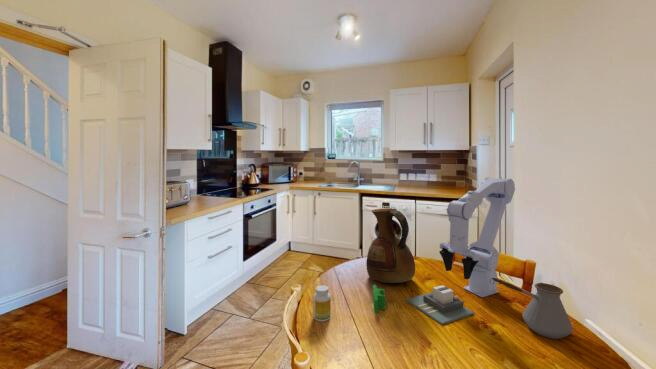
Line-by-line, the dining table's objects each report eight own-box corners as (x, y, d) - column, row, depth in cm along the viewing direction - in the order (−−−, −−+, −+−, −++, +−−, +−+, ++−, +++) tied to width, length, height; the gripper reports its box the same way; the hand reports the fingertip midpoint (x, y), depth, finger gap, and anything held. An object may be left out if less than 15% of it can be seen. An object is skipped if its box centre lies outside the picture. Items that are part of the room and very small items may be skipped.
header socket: (435, 292, 103) (435, 283, 103) (473, 314, 89) (474, 303, 89) (406, 300, 98) (406, 290, 97) (441, 324, 83) (442, 313, 83)
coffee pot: (554, 320, 85) (557, 273, 84) (583, 345, 74) (587, 291, 73) (480, 315, 88) (482, 269, 87) (497, 338, 77) (500, 286, 76)
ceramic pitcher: (382, 266, 130) (383, 203, 127) (423, 279, 116) (425, 208, 113) (356, 279, 115) (356, 208, 113) (399, 295, 102) (401, 214, 99)
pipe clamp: (386, 314, 90) (386, 300, 89) (374, 313, 90) (374, 300, 90) (383, 297, 101) (383, 284, 100) (372, 296, 101) (373, 284, 101)
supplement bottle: (311, 315, 89) (310, 286, 88) (326, 311, 91) (325, 282, 90) (317, 323, 84) (317, 293, 83) (333, 319, 86) (333, 289, 85)
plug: (442, 301, 97) (442, 284, 97) (452, 307, 93) (453, 290, 92) (432, 304, 95) (433, 287, 95) (442, 310, 91) (443, 292, 91)
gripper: (434, 232, 100) (432, 268, 101) (469, 242, 87) (467, 284, 88) (448, 230, 103) (447, 265, 104) (484, 240, 90) (482, 280, 91)
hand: (457, 274), depth 96 cm, fingers open, 7 cm apart
